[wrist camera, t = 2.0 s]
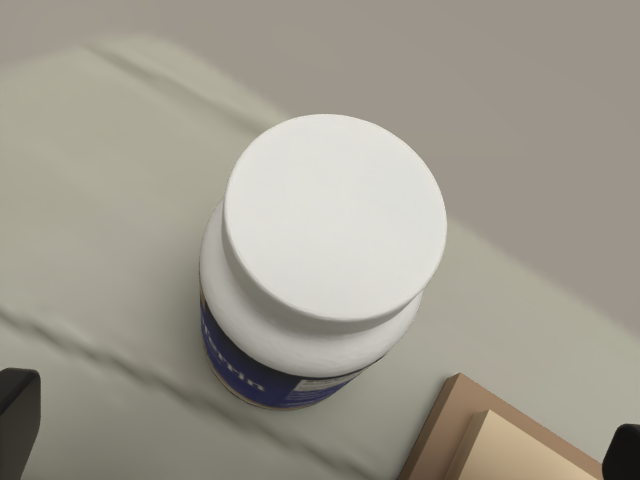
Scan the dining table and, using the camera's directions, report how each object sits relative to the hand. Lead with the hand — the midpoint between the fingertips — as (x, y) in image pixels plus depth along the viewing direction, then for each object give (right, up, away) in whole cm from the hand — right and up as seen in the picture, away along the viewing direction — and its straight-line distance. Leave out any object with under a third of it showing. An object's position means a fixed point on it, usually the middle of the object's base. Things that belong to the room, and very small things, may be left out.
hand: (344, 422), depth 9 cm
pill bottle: (-2, -1, +12) cm, 12 cm away
